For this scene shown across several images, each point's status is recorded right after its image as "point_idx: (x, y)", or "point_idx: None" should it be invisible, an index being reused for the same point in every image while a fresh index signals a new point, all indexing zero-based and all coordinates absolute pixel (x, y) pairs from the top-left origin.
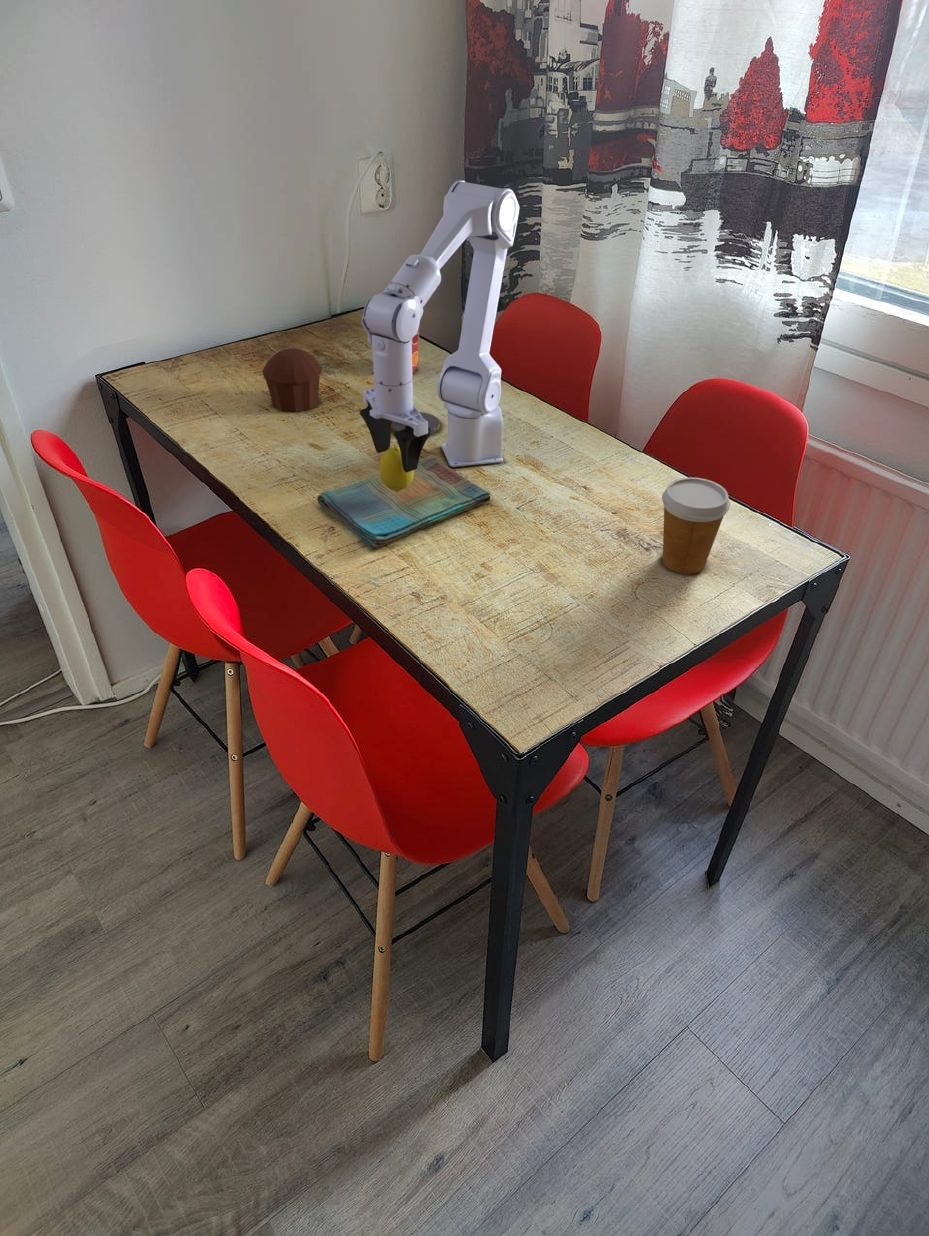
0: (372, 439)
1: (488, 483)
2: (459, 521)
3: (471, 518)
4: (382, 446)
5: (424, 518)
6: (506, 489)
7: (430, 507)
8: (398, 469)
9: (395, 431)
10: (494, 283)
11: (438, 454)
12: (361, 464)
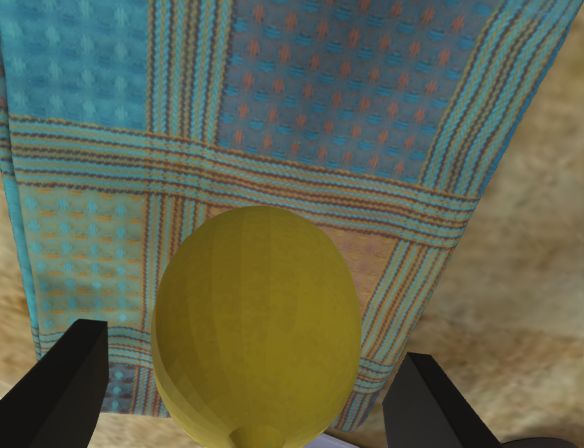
0: (487, 428)
1: (157, 428)
2: (12, 263)
3: (7, 298)
4: (407, 407)
5: (16, 171)
6: (97, 436)
7: (94, 246)
8: (165, 312)
9: (554, 441)
10: None
11: (376, 437)
12: (558, 291)
